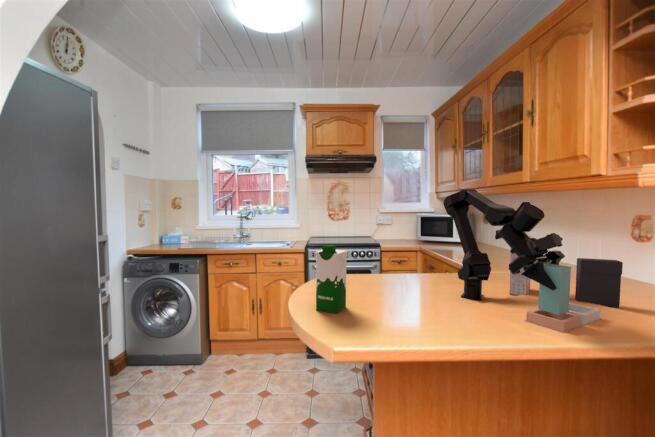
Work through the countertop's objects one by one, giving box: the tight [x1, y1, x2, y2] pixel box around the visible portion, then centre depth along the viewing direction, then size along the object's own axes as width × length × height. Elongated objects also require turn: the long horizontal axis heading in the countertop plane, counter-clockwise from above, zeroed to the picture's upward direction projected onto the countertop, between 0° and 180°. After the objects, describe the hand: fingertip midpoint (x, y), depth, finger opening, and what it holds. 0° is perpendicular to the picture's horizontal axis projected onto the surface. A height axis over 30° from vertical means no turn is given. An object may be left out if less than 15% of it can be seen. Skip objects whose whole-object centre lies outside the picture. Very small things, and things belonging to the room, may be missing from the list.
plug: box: [537, 264, 572, 315], centre depth 86 cm, size 5×5×12 cm
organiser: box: [524, 302, 602, 334], centre depth 89 cm, size 10×21×4 cm, turn 120°
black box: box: [574, 257, 624, 309], centre depth 106 cm, size 11×4×15 cm, turn 71°
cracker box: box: [509, 235, 532, 297], centre depth 121 cm, size 14×6×21 cm, turn 144°
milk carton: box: [314, 244, 348, 314], centre depth 100 cm, size 9×9×20 cm
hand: (560, 288), depth 85 cm, fingers closed on plug, 5 cm apart
